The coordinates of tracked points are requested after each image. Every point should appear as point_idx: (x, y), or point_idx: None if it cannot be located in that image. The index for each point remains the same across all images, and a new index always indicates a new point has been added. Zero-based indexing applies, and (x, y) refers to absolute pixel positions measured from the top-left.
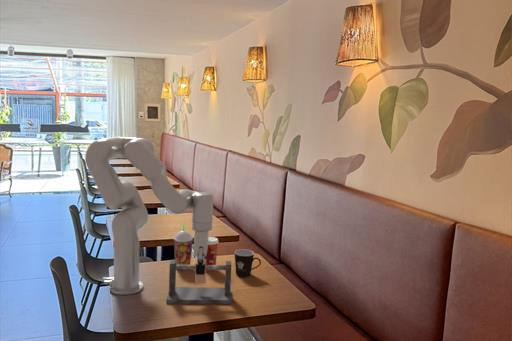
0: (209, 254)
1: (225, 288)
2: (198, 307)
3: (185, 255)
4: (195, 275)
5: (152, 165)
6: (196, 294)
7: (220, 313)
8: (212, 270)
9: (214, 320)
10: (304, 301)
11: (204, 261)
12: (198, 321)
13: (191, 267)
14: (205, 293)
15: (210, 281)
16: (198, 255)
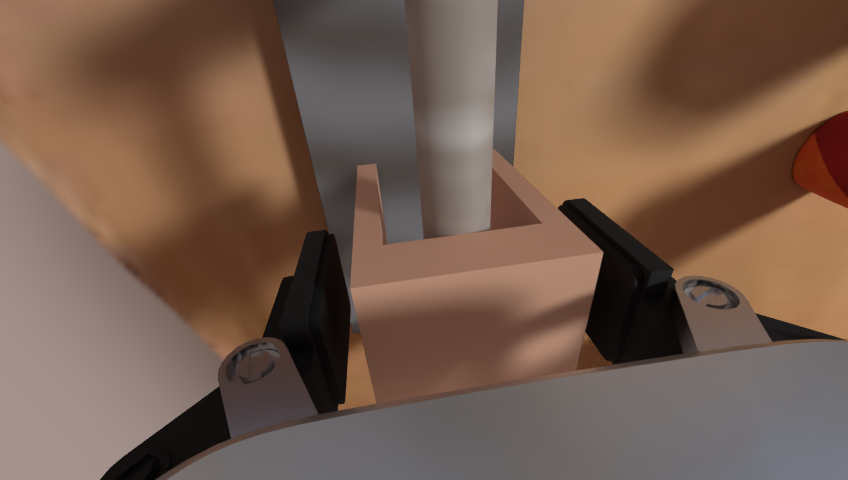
0: None
1: None
2: (264, 167)
3: None
4: (355, 202)
5: None
6: (397, 140)
7: (233, 289)
8: (794, 176)
9: (138, 274)
10: None
11: (476, 373)
12: (75, 196)
13: (418, 171)
14: (419, 197)
15: (639, 185)
16: (674, 302)
